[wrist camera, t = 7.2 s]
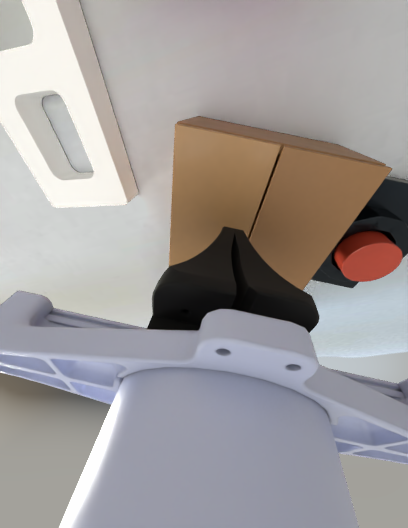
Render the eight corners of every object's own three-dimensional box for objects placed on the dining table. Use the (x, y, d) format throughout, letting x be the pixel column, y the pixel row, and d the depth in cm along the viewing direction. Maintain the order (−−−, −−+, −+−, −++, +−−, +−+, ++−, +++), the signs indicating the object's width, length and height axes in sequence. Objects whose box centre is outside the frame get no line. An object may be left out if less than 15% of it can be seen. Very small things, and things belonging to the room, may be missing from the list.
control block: (347, 280, 25) (360, 301, 22) (286, 267, 25) (291, 286, 22) (434, 185, 17) (470, 201, 14) (344, 167, 17) (364, 179, 14)
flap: (169, 267, 18) (168, 270, 17) (176, 123, 11) (174, 123, 10) (231, 280, 18) (231, 282, 17) (280, 144, 11) (281, 145, 10)
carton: (186, 228, 23) (167, 270, 17) (198, 115, 16) (173, 122, 10) (283, 249, 23) (297, 298, 17) (338, 144, 16) (395, 167, 10)
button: (366, 271, 20) (377, 286, 18) (324, 262, 20) (331, 276, 18) (401, 236, 17) (417, 249, 15) (352, 225, 17) (363, 238, 16)
